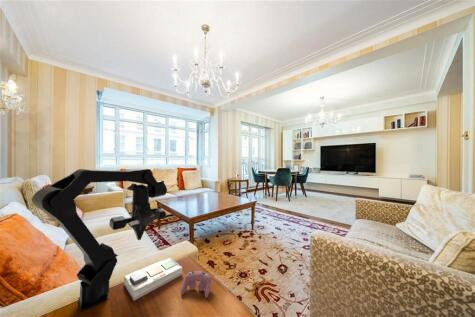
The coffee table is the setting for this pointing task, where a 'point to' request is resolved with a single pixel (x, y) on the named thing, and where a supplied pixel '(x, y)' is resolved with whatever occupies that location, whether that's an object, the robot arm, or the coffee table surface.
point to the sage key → (168, 265)
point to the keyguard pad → (152, 279)
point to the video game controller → (197, 276)
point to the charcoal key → (138, 277)
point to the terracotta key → (154, 271)
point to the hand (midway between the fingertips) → (139, 239)
